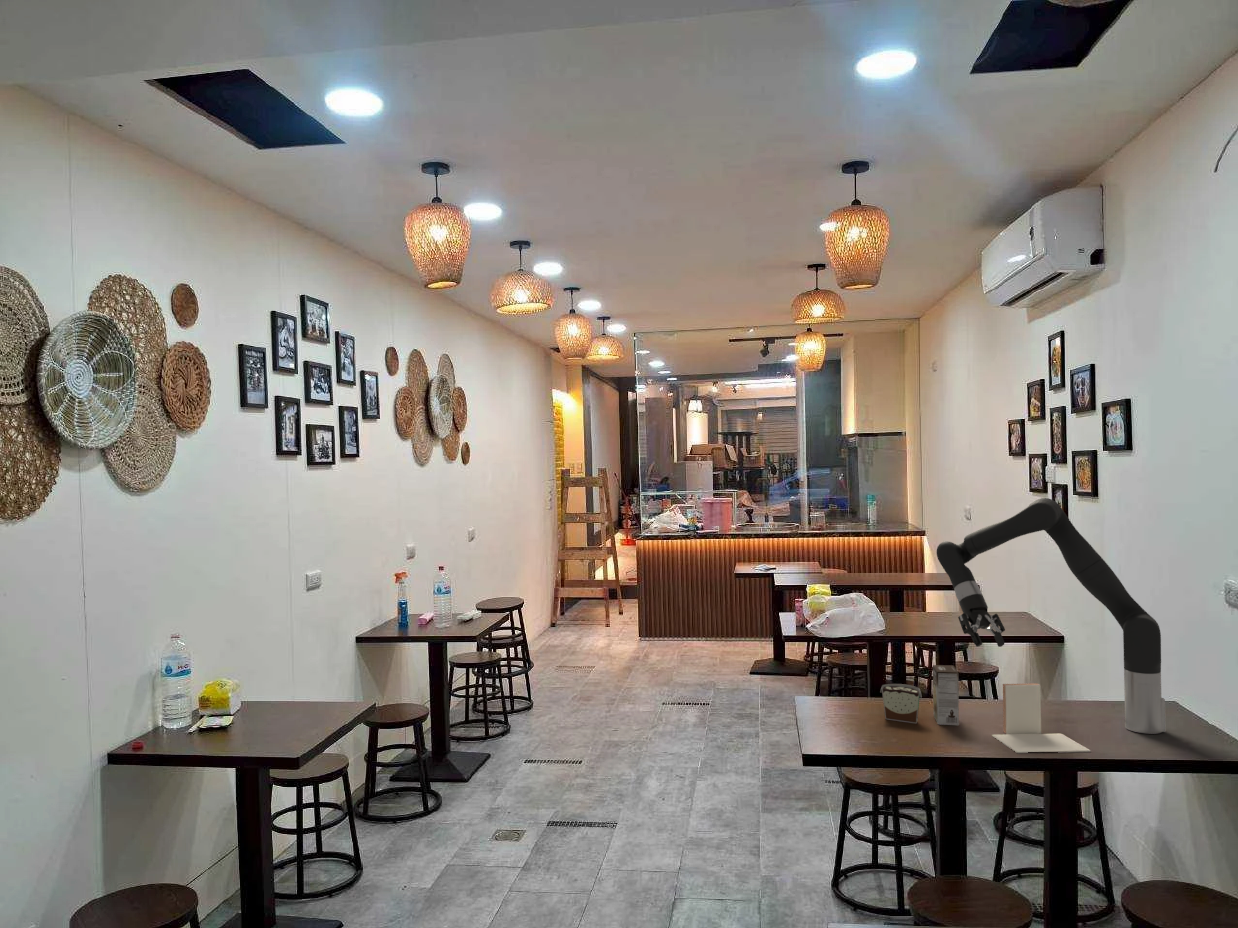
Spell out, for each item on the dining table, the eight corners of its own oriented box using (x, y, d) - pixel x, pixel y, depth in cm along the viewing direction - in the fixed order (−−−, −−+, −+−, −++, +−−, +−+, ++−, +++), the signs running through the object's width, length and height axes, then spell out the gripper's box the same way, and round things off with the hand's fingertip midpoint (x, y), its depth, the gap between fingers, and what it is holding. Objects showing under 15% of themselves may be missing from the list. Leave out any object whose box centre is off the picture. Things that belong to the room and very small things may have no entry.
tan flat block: (1037, 731, 249) (1036, 683, 249) (1041, 733, 247) (1040, 684, 247) (1003, 732, 249) (1002, 683, 249) (1006, 734, 247) (1005, 685, 247)
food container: (926, 719, 263) (926, 686, 263) (921, 724, 258) (921, 690, 258) (885, 713, 270) (885, 681, 270) (880, 718, 264) (880, 685, 264)
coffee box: (932, 716, 266) (931, 664, 266) (954, 717, 265) (953, 664, 265) (937, 724, 257) (936, 671, 257) (960, 725, 256) (959, 671, 256)
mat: (1061, 734, 246) (1061, 733, 246) (1090, 751, 231) (1090, 750, 231) (991, 735, 245) (991, 734, 245) (1016, 753, 230) (1016, 751, 230)
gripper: (959, 592, 267) (979, 640, 258) (995, 593, 272) (1017, 640, 263) (945, 603, 273) (964, 650, 263) (981, 604, 278) (1001, 650, 268)
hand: (990, 645), depth 263 cm, fingers open, 8 cm apart
